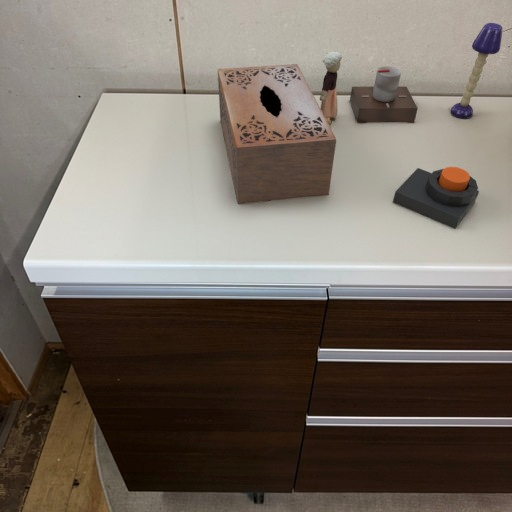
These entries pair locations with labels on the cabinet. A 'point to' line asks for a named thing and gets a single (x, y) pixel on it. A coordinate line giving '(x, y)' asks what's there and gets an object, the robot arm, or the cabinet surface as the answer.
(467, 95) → the toy lamp
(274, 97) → the tissue box cover
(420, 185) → the switch block
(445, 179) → the lamp switch
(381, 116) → the dimmer panel
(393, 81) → the dimmer knob
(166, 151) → the cabinet surface
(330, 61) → the grandmother figurine
